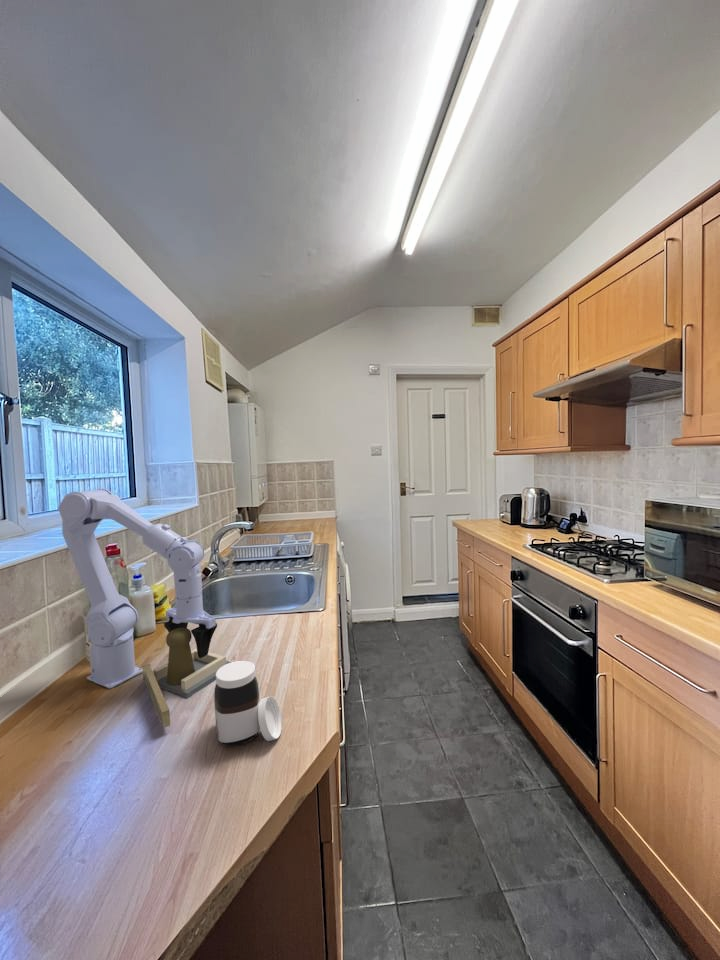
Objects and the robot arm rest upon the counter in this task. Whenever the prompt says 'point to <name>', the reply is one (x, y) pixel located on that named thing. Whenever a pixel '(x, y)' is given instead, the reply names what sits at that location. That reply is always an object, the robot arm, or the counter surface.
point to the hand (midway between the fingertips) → (191, 652)
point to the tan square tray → (193, 674)
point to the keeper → (156, 696)
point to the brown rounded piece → (179, 656)
